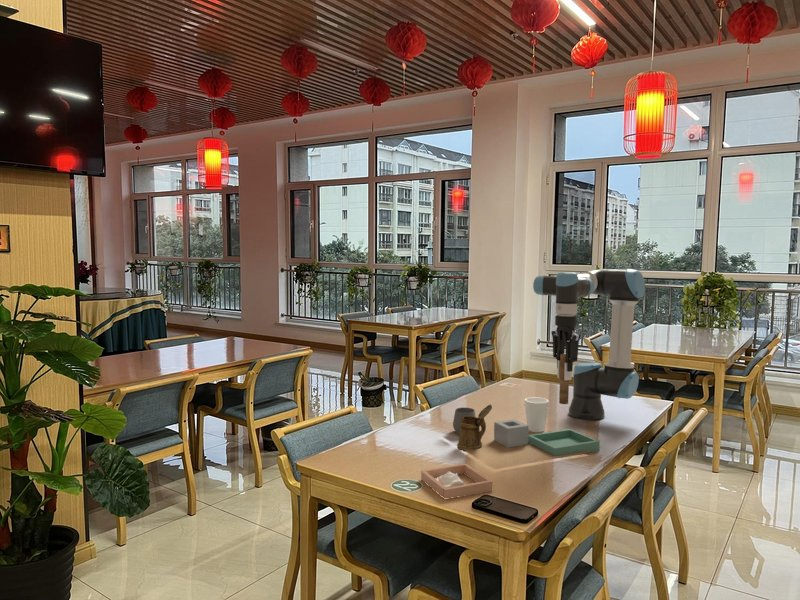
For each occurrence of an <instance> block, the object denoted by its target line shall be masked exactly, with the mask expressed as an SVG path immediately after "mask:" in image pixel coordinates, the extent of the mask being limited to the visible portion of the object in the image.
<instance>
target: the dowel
mask: <svg viewBox="0 0 800 600" xmlns="http://www.w3.org/2000/svg"><path fill="white" fill-rule="evenodd" d="M565 361H566V353H564V354H560V378H559V391H558V392H559V393H558V394H559V395H558V396H559V397H558V398H559V399H558V400H559V402H558V403H559V405H560V404H561V405H568V404H569V389H570V380H566V381H565V380H564V368H565Z"/></svg>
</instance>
